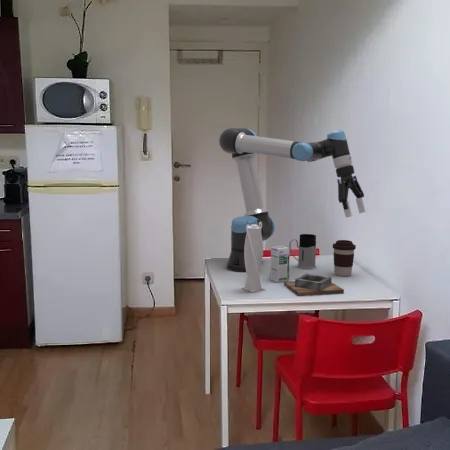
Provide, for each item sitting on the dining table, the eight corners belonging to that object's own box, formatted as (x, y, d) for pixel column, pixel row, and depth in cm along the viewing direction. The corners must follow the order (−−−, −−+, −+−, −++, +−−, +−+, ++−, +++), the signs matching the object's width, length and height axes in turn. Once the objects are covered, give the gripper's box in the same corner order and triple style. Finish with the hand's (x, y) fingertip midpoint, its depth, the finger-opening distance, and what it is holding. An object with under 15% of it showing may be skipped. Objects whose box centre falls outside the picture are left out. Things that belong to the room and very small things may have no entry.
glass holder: (319, 268, 264) (321, 236, 262) (294, 271, 258) (295, 238, 256) (308, 264, 272) (310, 233, 270) (283, 267, 266) (284, 235, 263)
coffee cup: (354, 277, 247) (356, 243, 245) (331, 276, 249) (332, 242, 247) (354, 272, 257) (355, 239, 254) (331, 271, 259) (333, 238, 256)
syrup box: (277, 282, 238) (278, 248, 235) (270, 279, 243) (271, 246, 241) (289, 281, 240) (290, 247, 238) (281, 278, 246) (282, 244, 243)
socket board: (283, 285, 234) (284, 274, 233) (326, 282, 238) (327, 272, 238) (298, 296, 218) (298, 284, 218) (343, 293, 223) (344, 282, 222)
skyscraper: (268, 291, 225) (269, 221, 221) (251, 294, 221) (252, 223, 216) (255, 286, 232) (257, 218, 228) (239, 289, 228) (240, 220, 223)
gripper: (338, 166, 232) (351, 216, 232) (363, 162, 252) (375, 209, 252) (322, 170, 237) (335, 220, 237) (348, 166, 256) (360, 212, 256)
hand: (355, 214), depth 244 cm, fingers open, 13 cm apart
